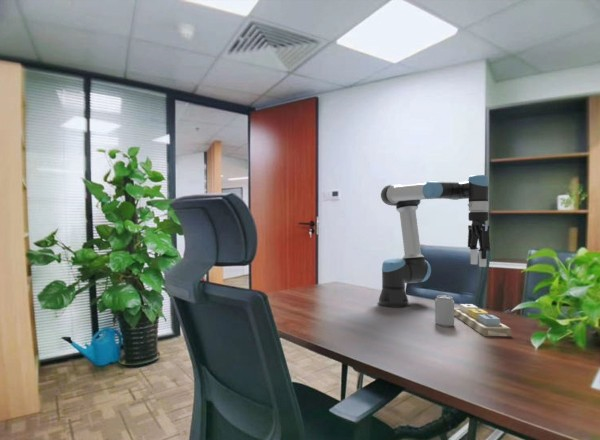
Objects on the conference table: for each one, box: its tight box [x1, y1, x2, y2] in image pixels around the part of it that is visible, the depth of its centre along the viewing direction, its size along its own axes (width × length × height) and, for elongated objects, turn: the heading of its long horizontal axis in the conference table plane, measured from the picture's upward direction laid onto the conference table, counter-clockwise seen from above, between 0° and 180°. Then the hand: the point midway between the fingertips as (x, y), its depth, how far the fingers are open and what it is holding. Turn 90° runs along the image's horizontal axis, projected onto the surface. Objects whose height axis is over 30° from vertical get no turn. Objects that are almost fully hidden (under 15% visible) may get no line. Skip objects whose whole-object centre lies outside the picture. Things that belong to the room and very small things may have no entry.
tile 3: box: [478, 314, 501, 326], centre depth 135 cm, size 6×6×3 cm
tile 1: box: [459, 303, 479, 314], centre depth 152 cm, size 6×6×3 cm
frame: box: [454, 307, 512, 337], centre depth 143 cm, size 30×10×3 cm, turn 178°
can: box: [434, 294, 455, 328], centre depth 142 cm, size 8×8×12 cm
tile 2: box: [468, 308, 489, 319], centre depth 143 cm, size 6×6×3 cm
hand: (478, 265), depth 143 cm, fingers open, 7 cm apart
